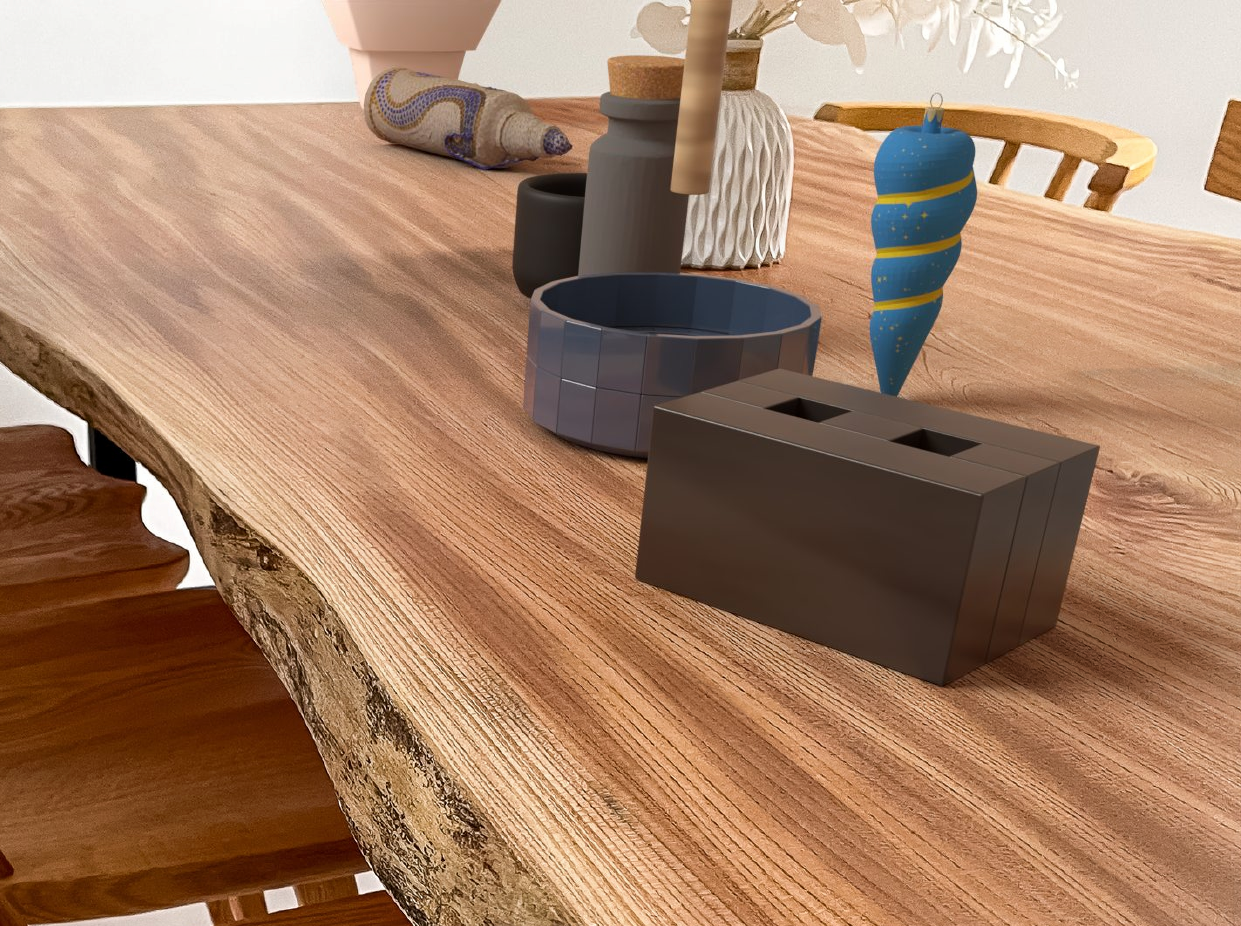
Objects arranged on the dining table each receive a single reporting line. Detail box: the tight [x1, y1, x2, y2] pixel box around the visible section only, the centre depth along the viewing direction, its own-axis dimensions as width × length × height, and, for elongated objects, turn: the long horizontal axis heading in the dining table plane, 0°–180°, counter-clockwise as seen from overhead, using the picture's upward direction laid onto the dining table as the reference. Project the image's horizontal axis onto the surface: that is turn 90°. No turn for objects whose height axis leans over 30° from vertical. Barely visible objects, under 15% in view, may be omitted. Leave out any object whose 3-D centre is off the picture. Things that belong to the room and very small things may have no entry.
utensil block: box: [634, 369, 1101, 687], centre depth 67 cm, size 8×14×7 cm, turn 44°
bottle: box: [578, 54, 690, 276], centre depth 100 cm, size 6×6×15 cm
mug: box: [511, 172, 587, 300], centre depth 108 cm, size 12×9×7 cm
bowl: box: [321, 0, 502, 112], centre depth 177 cm, size 19×19×14 cm
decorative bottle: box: [363, 68, 573, 170], centre depth 156 cm, size 26×8×7 cm, turn 33°
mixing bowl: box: [522, 272, 823, 459], centre depth 87 cm, size 14×14×6 cm
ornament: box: [869, 92, 978, 397], centre depth 89 cm, size 5×5×15 cm
